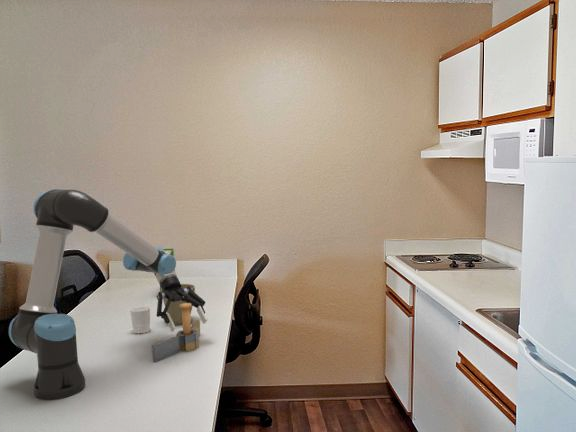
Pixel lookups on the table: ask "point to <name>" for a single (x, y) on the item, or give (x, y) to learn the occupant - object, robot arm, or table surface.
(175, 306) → the plant pot
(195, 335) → the hinge leaf
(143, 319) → the white cup
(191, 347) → the hinge leaf
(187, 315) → the hinge pin
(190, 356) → the table surface
